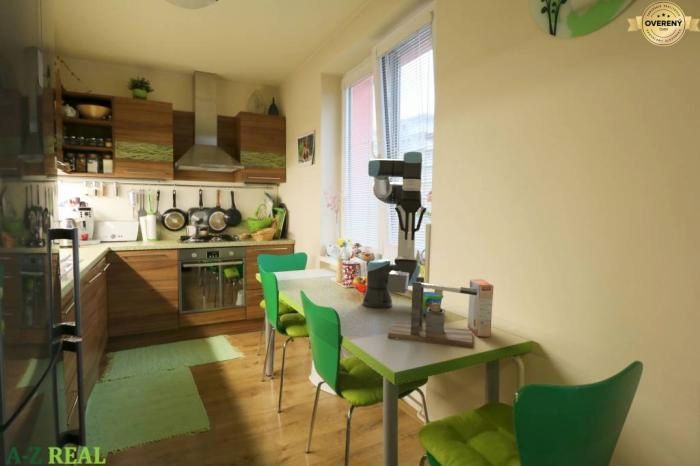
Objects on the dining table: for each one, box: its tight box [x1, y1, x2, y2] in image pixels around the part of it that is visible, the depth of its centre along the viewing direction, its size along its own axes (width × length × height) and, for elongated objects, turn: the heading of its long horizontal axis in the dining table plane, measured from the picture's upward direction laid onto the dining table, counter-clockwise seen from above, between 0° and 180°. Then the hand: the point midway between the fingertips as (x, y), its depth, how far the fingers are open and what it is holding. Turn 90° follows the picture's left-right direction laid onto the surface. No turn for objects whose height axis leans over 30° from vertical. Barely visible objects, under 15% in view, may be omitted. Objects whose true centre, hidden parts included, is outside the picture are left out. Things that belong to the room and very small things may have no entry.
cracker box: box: [467, 278, 494, 338], centre depth 159 cm, size 14×6×21 cm, turn 177°
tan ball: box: [430, 303, 442, 312], centre depth 152 cm, size 4×4×4 cm
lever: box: [387, 270, 477, 296], centre depth 152 cm, size 9×34×7 cm, turn 74°
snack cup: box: [423, 291, 444, 316], centre depth 184 cm, size 16×10×10 cm
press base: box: [387, 276, 473, 349], centre depth 152 cm, size 16×31×22 cm, turn 74°
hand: (409, 248), depth 159 cm, fingers closed
